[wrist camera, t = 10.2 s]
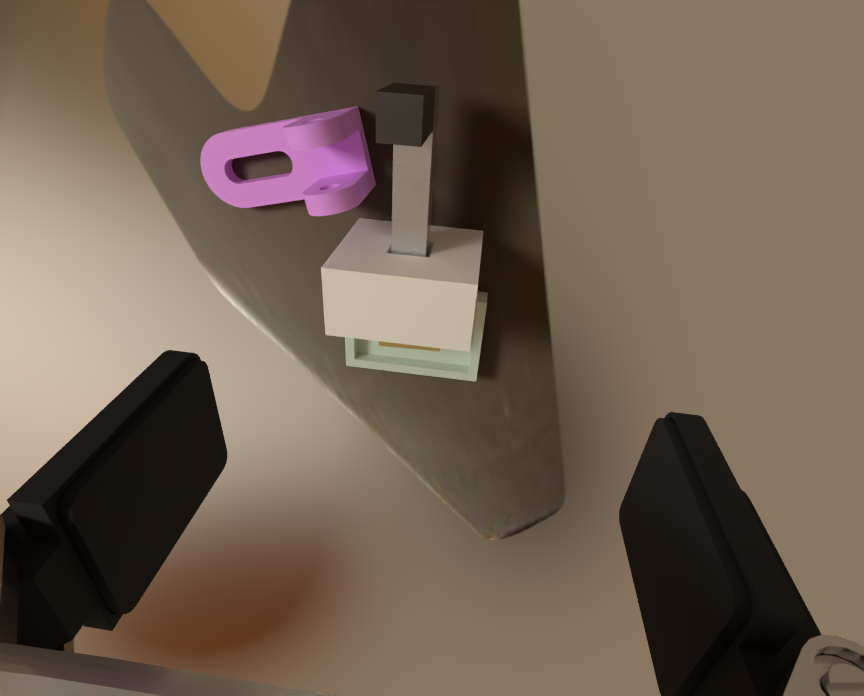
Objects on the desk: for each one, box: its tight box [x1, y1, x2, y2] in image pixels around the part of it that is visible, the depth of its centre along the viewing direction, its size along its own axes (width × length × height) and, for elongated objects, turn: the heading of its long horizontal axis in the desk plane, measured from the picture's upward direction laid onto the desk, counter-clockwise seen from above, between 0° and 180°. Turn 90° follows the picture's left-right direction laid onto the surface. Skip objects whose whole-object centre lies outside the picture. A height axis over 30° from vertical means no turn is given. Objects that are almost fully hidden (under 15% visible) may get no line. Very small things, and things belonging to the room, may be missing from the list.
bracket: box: [201, 106, 376, 216], centre depth 35 cm, size 13×6×7 cm, turn 100°
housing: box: [321, 218, 483, 352], centre depth 36 cm, size 5×10×10 cm, turn 87°
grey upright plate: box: [376, 79, 440, 258], centre depth 31 cm, size 13×2×7 cm, turn 177°
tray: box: [345, 291, 488, 381], centre depth 44 cm, size 8×12×2 cm, turn 87°
